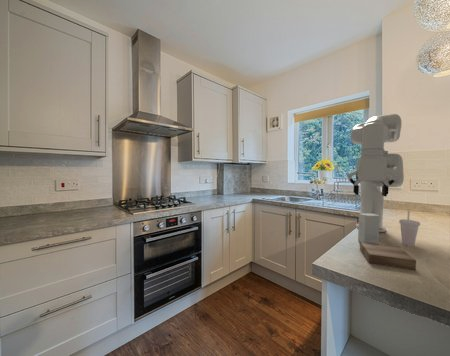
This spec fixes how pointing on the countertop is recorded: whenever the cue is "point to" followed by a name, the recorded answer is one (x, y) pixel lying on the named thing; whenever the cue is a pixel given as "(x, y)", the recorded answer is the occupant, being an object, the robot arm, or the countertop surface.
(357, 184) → the robot arm
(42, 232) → the countertop surface
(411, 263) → the podium
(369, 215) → the skincare box
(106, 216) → the countertop surface
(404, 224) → the smoothie
